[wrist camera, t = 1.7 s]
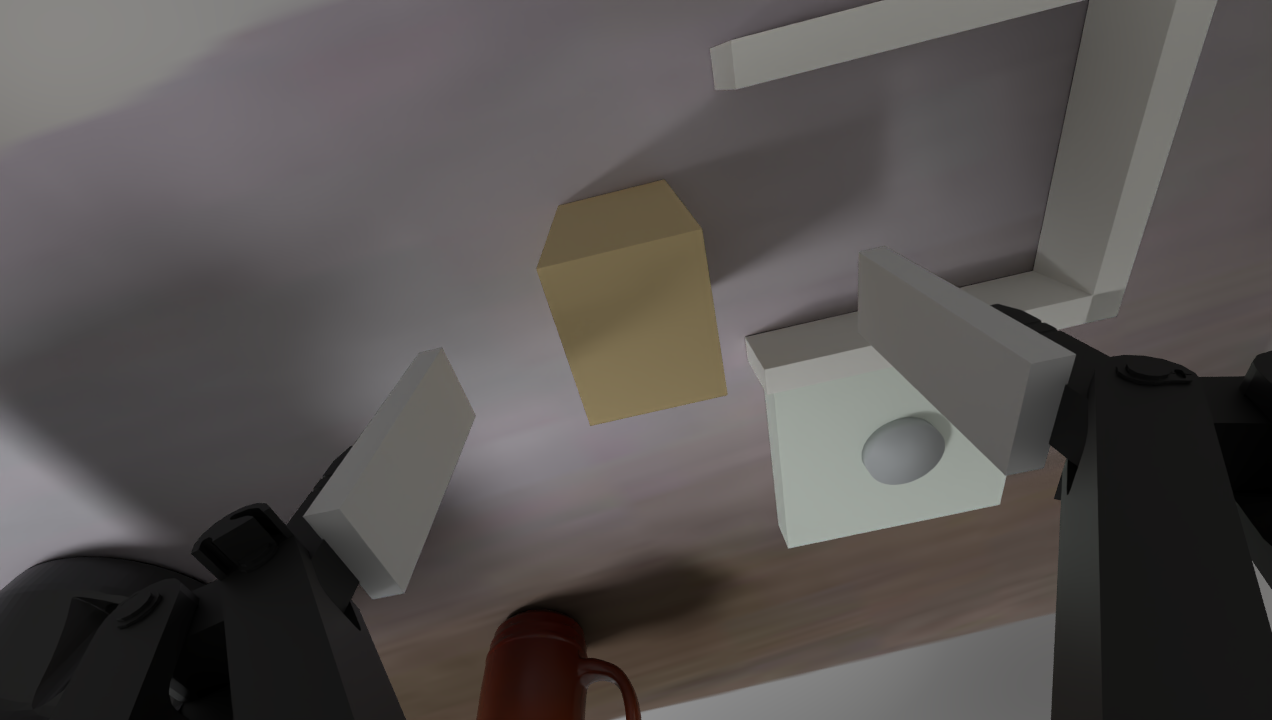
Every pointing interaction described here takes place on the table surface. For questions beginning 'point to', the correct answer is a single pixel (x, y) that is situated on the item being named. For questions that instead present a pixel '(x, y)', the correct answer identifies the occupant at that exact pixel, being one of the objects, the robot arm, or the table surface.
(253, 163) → the table surface
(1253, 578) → the robot arm
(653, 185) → the chute block
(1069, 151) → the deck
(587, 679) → the mug
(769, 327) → the table surface
